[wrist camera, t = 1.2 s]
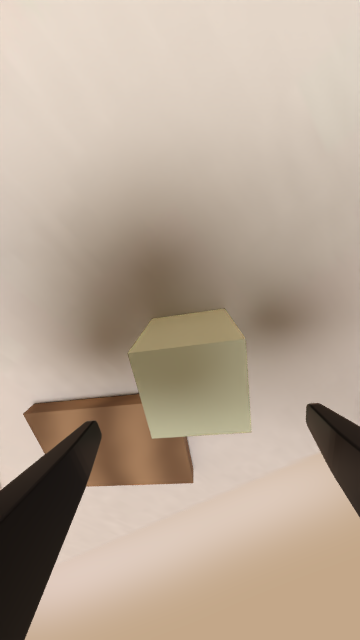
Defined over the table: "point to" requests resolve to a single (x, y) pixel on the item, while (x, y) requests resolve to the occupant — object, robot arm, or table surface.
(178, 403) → the sage cube
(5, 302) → the table surface
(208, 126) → the table surface
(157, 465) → the walnut board
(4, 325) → the table surface
